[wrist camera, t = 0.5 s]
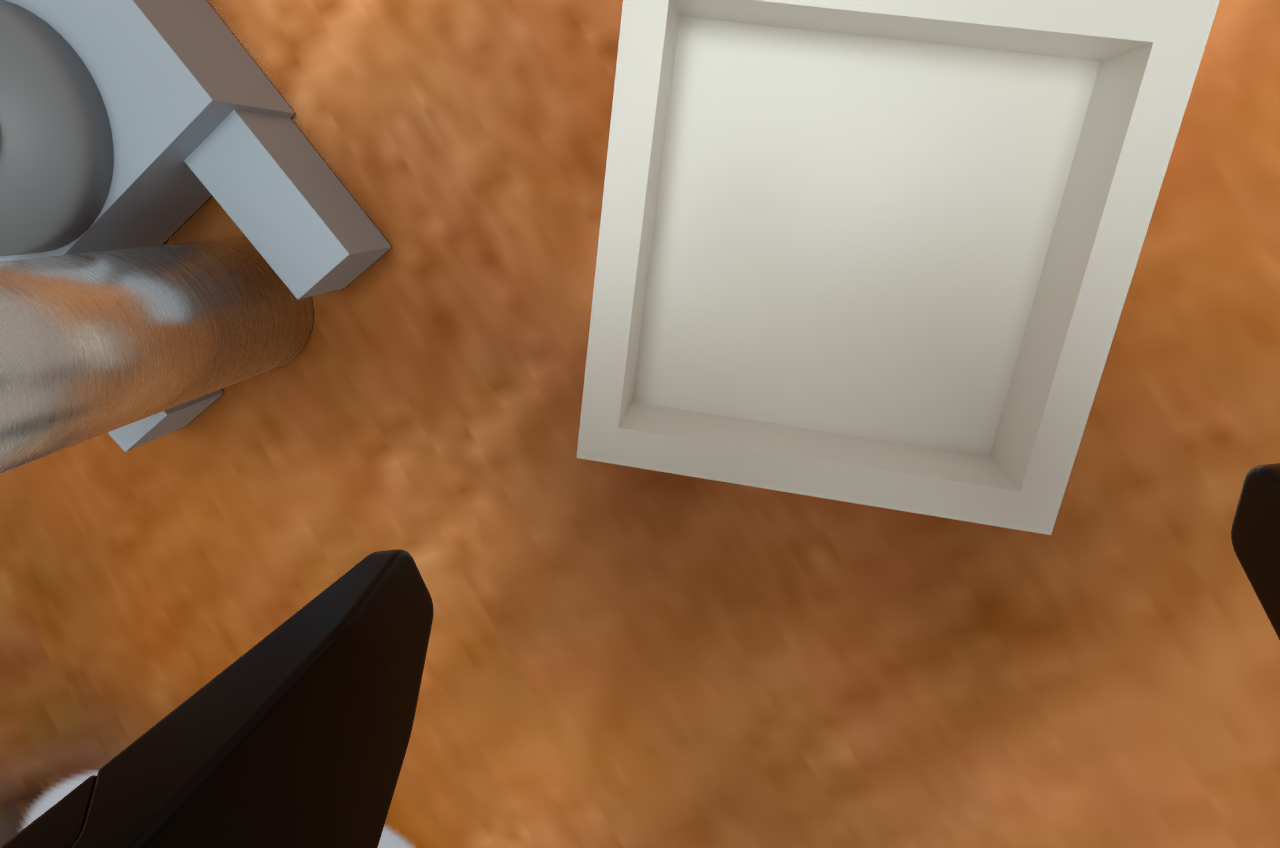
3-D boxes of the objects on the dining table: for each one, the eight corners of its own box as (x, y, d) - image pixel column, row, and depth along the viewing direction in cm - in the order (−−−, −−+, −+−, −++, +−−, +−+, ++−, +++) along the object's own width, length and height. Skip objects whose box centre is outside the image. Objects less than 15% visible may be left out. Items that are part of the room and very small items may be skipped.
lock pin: (326, 392, 24) (-196, 645, 11) (183, 369, 24) (-488, 585, 11) (325, 235, 23) (-281, 304, 9) (173, 213, 23) (-614, 250, 10)
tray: (1010, 488, 22) (1050, 534, 19) (598, 423, 23) (576, 457, 20) (1146, 24, 18) (1221, -8, 15) (647, -28, 19) (629, -66, 16)
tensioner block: (396, 243, 22) (284, 260, 17) (180, 430, 25) (24, 496, 20) (145, -78, 21) (-68, -171, 15) (-56, 161, 23) (-297, 153, 18)
